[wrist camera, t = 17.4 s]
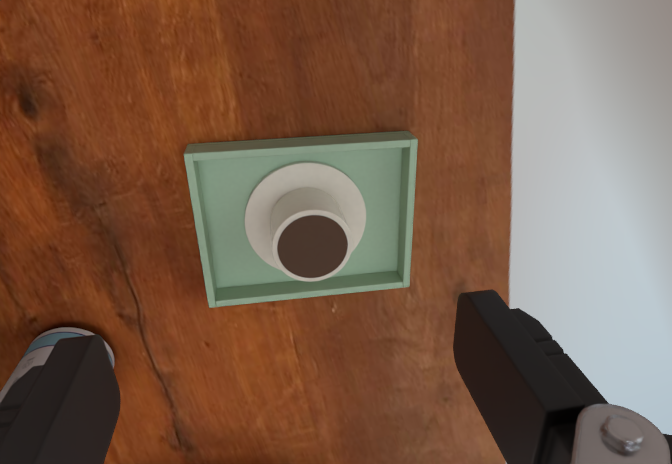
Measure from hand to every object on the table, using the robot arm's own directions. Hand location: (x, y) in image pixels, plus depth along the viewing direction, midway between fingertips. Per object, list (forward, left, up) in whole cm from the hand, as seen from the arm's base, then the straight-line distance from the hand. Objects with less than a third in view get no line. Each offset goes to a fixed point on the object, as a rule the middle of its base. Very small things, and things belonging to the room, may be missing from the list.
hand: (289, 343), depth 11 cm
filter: (-3, +10, -27) cm, 29 cm away
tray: (-3, +9, -28) cm, 30 cm away
